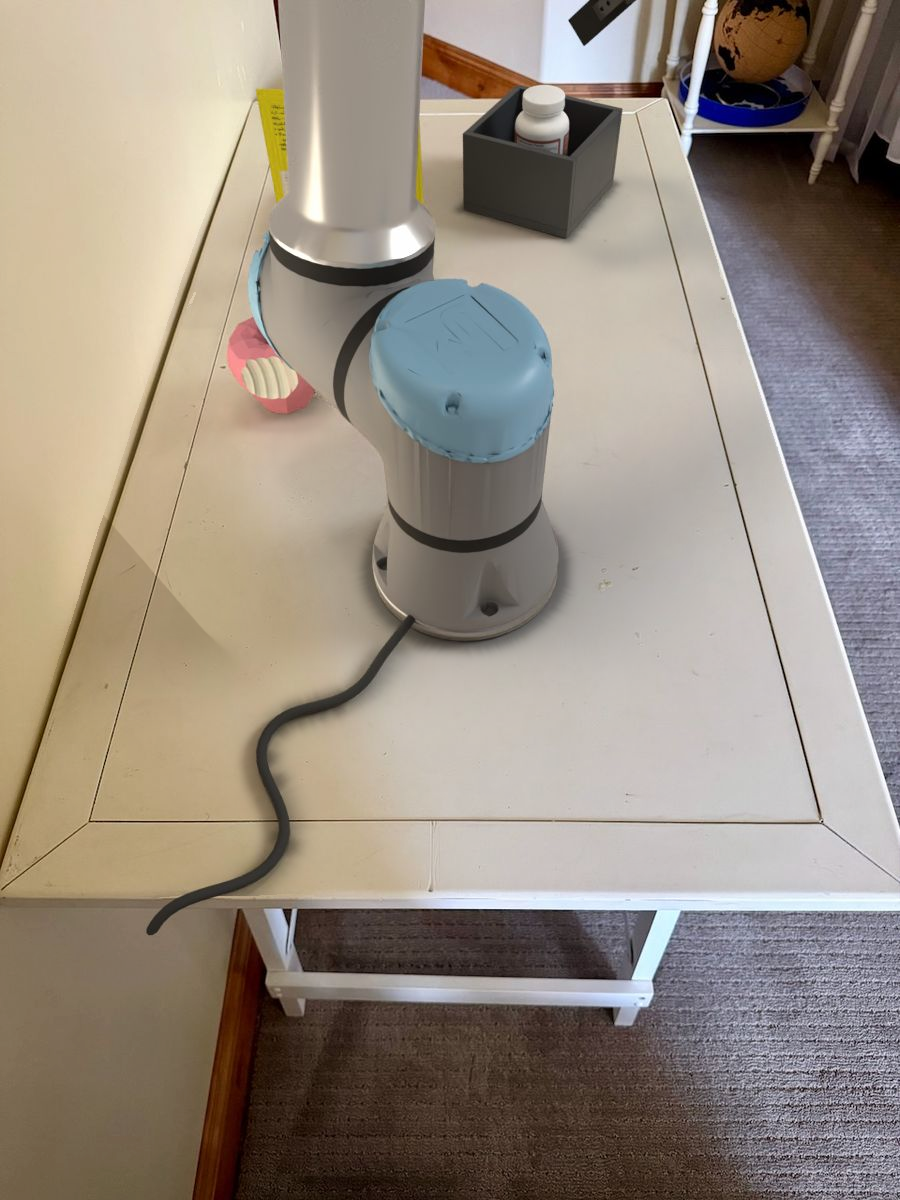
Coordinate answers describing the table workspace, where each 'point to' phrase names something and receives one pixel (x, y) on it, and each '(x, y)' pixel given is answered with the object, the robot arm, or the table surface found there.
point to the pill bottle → (543, 120)
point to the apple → (265, 371)
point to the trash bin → (540, 166)
